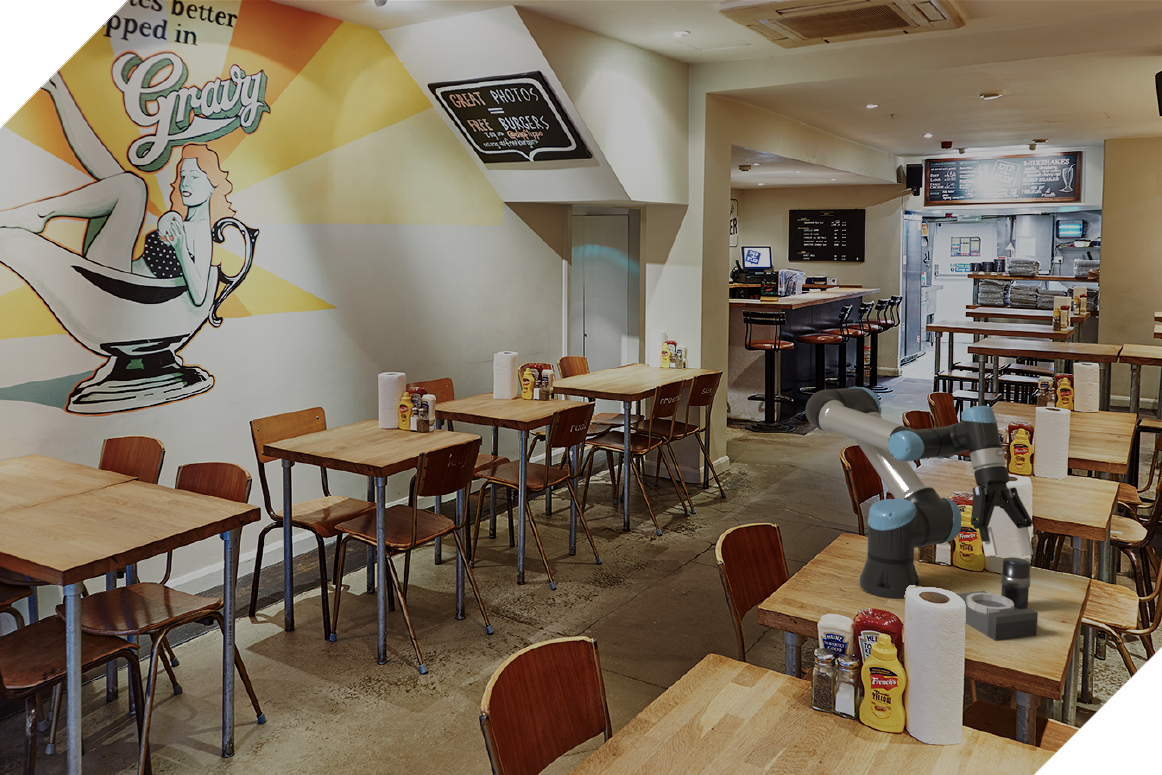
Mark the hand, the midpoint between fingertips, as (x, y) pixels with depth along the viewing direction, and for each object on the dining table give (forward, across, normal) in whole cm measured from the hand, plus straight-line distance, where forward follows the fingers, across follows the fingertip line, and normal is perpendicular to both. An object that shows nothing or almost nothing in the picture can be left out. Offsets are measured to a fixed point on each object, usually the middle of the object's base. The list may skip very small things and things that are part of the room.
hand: (1009, 555), depth 203 cm
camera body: (+15, -2, +8) cm, 17 cm away
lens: (+12, +11, +10) cm, 19 cm away
